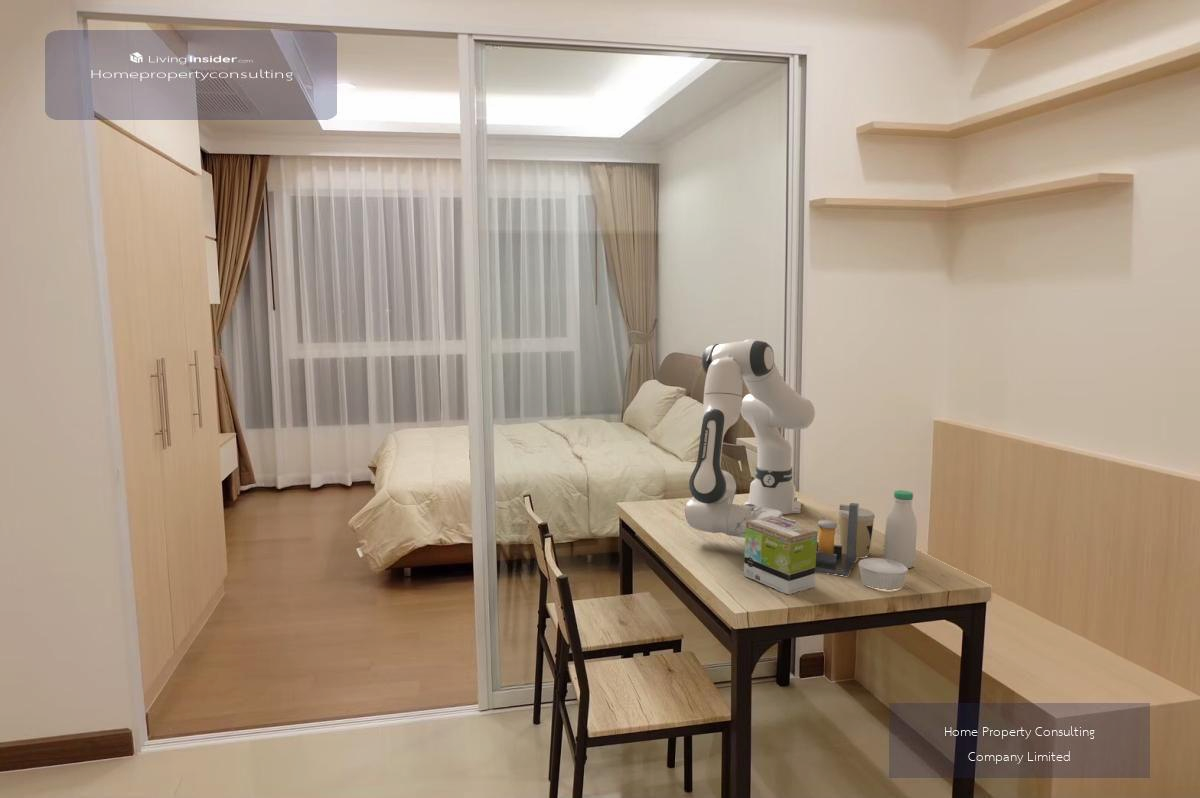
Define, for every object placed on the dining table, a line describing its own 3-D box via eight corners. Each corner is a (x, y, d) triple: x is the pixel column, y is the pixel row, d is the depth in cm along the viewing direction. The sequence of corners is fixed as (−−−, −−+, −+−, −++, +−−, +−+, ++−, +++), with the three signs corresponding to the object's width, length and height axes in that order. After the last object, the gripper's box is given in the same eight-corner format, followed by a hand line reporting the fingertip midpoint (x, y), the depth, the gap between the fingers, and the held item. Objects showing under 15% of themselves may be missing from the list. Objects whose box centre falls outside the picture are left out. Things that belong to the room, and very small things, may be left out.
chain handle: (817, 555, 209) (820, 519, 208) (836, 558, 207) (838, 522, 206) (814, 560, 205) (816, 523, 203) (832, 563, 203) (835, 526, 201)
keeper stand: (815, 553, 214) (819, 492, 212) (858, 560, 209) (862, 498, 207) (803, 569, 201) (807, 505, 199) (849, 577, 196) (853, 511, 194)
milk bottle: (916, 571, 201) (922, 496, 199) (885, 568, 203) (890, 494, 200) (911, 561, 209) (916, 489, 206) (881, 559, 210) (885, 487, 208)
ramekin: (915, 588, 189) (917, 568, 189) (886, 597, 183) (888, 576, 183) (877, 574, 199) (878, 554, 198) (848, 582, 193) (849, 562, 192)
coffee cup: (874, 560, 209) (877, 517, 208) (838, 557, 211) (841, 514, 210) (869, 549, 219) (871, 508, 217) (834, 547, 220) (837, 506, 219)
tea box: (742, 577, 195) (744, 520, 193) (769, 569, 200) (772, 514, 199) (788, 596, 183) (791, 535, 181) (815, 587, 188) (819, 529, 186)
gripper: (731, 519, 206) (783, 526, 199) (752, 502, 224) (800, 508, 218) (730, 542, 206) (781, 550, 200) (751, 523, 224) (799, 530, 218)
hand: (791, 528), depth 209 cm, fingers open, 8 cm apart
